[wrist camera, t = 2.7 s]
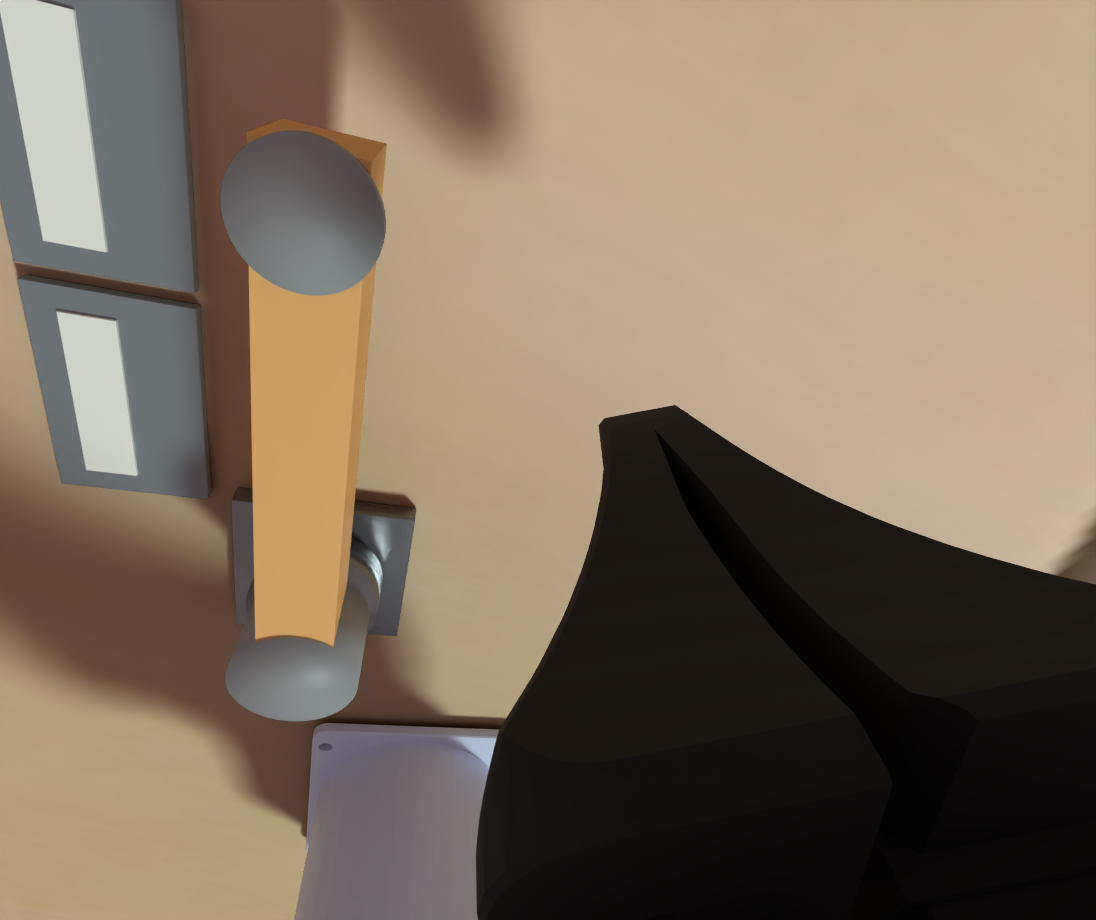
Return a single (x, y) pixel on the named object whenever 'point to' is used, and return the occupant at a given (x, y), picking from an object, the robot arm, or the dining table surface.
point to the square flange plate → (371, 564)
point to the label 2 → (121, 387)
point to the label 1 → (97, 139)
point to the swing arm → (304, 406)
